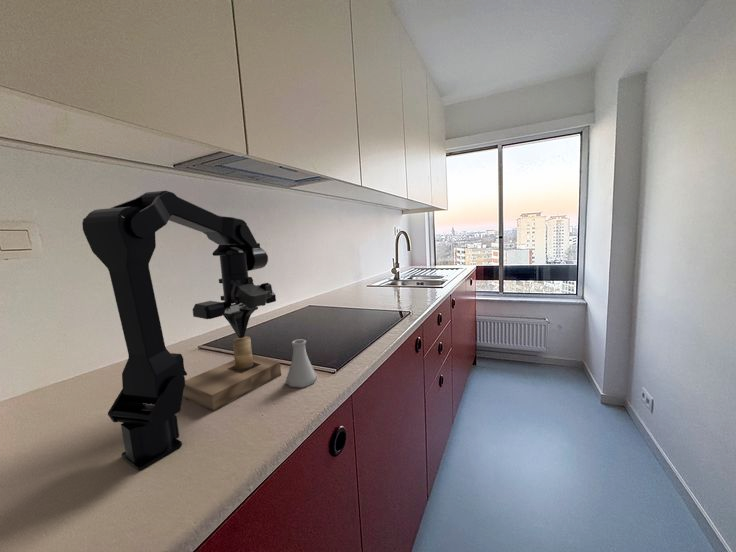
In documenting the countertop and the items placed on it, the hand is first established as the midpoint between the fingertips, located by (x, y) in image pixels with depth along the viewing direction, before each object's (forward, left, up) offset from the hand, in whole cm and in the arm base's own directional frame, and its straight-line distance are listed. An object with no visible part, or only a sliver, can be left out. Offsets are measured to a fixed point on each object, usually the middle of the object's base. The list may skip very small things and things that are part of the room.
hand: (241, 337), depth 74 cm
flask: (+6, -13, -11) cm, 18 cm away
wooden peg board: (-3, 0, -11) cm, 11 cm away
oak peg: (0, 0, -10) cm, 10 cm away
